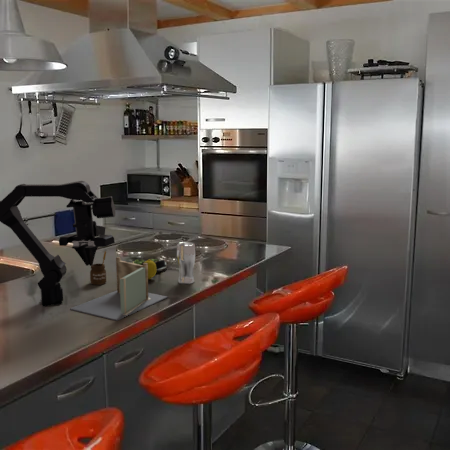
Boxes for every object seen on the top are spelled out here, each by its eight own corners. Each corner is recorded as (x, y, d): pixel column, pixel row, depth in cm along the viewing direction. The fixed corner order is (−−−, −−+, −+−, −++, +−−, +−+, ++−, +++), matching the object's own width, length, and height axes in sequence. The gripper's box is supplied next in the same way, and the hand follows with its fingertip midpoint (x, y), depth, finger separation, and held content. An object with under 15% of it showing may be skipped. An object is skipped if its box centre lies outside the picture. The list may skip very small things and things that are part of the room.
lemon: (149, 276, 210) (149, 257, 208) (159, 279, 206) (159, 259, 205) (139, 279, 206) (138, 259, 204) (149, 282, 202) (148, 261, 201)
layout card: (117, 320, 162) (117, 319, 162) (70, 309, 172) (70, 308, 172) (167, 297, 184) (167, 296, 184) (123, 288, 194) (123, 287, 194)
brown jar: (88, 282, 202) (87, 251, 200) (104, 279, 205) (103, 249, 203) (93, 286, 197) (91, 254, 195) (109, 283, 200) (108, 252, 198)
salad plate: (119, 276, 211) (119, 265, 210) (120, 265, 228) (120, 254, 228) (168, 274, 214) (168, 263, 213) (165, 263, 232) (165, 253, 231)
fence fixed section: (149, 299, 181) (148, 263, 179) (146, 300, 180) (145, 264, 177) (119, 291, 190) (118, 257, 187) (116, 292, 188) (115, 257, 186)
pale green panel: (142, 298, 180) (141, 267, 178) (146, 298, 179) (145, 267, 177) (120, 312, 166) (119, 279, 164) (124, 313, 165) (123, 279, 163)
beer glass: (174, 280, 204) (174, 242, 202) (191, 278, 207) (191, 241, 204) (180, 285, 198) (180, 246, 195) (198, 283, 201) (197, 244, 198)
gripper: (121, 215, 177) (126, 260, 180) (76, 215, 185) (82, 258, 188) (101, 221, 167) (107, 269, 170) (54, 221, 175) (61, 266, 178)
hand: (89, 265), depth 177 cm, fingers closed
